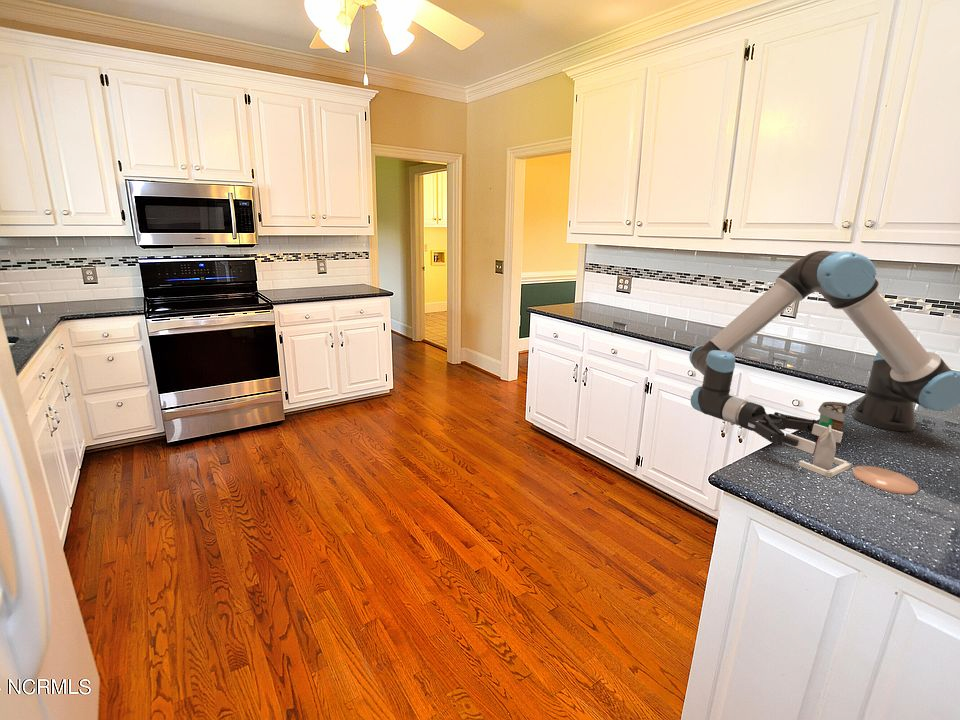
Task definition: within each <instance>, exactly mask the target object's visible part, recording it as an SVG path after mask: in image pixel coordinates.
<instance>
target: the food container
mask: <svg viewBox="0 0 960 720" xmlns="http://www.w3.org/2000/svg"><path fill="white" fill-rule="evenodd" d="M847 408H848V403H845V402H840V401H839V402H838V401H825V402H822V404H821V405H819V408H818V409H817V411H818V413H819V421H818V422H819V423H818V425H821V426H824V427H827V428H828V426H829V424H830V425H831V428H832V429H834V430H837V431H840V432H842V428H843V425H844V422H845V417H846V412H847ZM818 437H819V436H817V435H816V439H817V438H818ZM838 444H839V443H838V442H836V448H838Z"/></svg>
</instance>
